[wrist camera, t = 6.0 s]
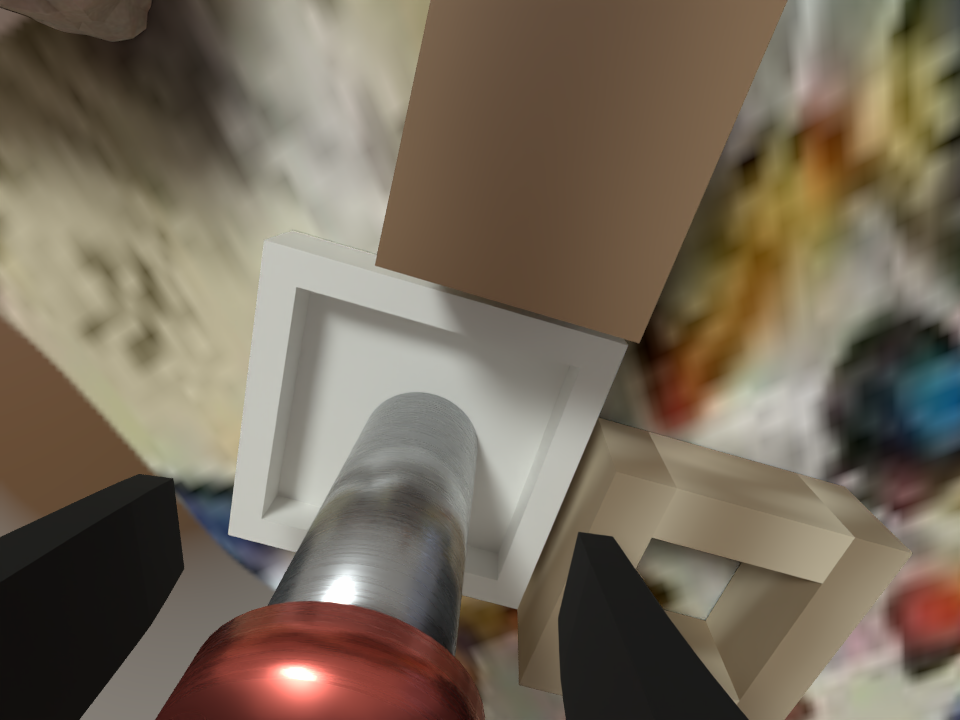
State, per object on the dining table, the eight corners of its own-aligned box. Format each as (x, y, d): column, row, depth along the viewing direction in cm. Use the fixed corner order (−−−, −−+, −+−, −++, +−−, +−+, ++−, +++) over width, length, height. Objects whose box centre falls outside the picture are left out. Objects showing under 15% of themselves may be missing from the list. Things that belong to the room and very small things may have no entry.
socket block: (844, 486, 14) (912, 553, 11) (728, 662, 16) (763, 746, 14) (597, 417, 13) (616, 471, 11) (517, 608, 16) (519, 685, 14)
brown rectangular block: (698, -20, 10) (863, -176, 5) (589, 272, 12) (639, 343, 8) (501, -86, 10) (495, -308, 5) (426, 223, 12) (375, 265, 7)
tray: (615, 324, 12) (628, 345, 11) (516, 568, 15) (517, 609, 14) (292, 230, 12) (264, 240, 11) (254, 499, 15) (227, 534, 14)
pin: (528, 429, 13) (551, 786, 6) (443, 530, 14) (371, 927, 7) (394, 343, 12) (223, 620, 5) (318, 457, 14) (93, 811, 6)
